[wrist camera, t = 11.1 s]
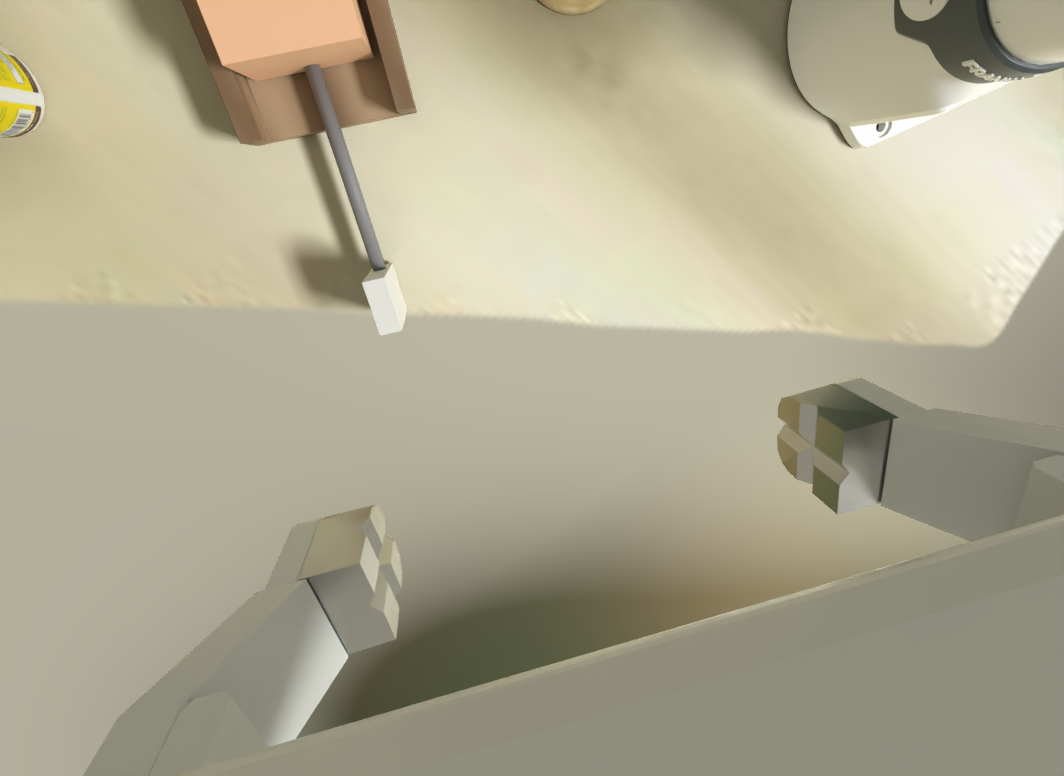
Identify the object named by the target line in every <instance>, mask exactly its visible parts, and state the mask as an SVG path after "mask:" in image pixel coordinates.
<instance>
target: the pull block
mask: <svg viewBox="0 0 1064 776" xmlns="http://www.w3.org/2000/svg"><path fill="white" fill-rule="evenodd" d="M197 3H198V5H199V8H200V10H201V13H202V15H203V18H204V20H205V23H206V25H207V28H208V30H209V33H210V35H211V38H212V40H213V43H214V45H215V48H216V50H217V53H218V55H219V58H220V60H221V63H222V65H223V66H225V67H227V68H229V69H232V70H234V71H236V72H238V73H240V74H242V75H244V76H246V77H248V78H251V79H253V80H255V81H261V80H266V79H271V78H276V77H280V76H285V75H290V74H295V73H300V72H305V71H306V74H307V77H308V80H309V83H310V86H311V89H312V92H313V95H314V98H315V101H316V104H317V106H318V109H319V112H320V115H321V118H322V121H323V124H324V127H325V130H326V133H327V136H328V139H329V142H330V145H331V148H332V151H333V154H334V157H335V160H336V163H337V165H338V168H339V171H340V174H341V177H342V180H343V183H344V186H345V189H346V192H347V195H348V198H349V201H350V204H351V207H352V210H353V213H354V216H355V219H356V222H357V225H358V227H359V230H360V233H361V236H362V239H363V242H364V245H365V248H366V251H367V254H368V257H369V260H370V263H371V266H372V269H371V270H370V272H369V273H368V275H367V276H366V277H365V279H364V280H363V282H362V285H363V288H364V291H365V294H366V296H367V299H368V302H369V305H370V308H371V311H372V313H373V316H374V319H375V322H376V325H377V328H378V330H379V333H380V336H381V335H386V334H390V333H394V332H398V331H402V328H403V324H404V320H405V317H406V313H407V307H406V304H405V301H404V298H403V294H402V291H401V288H400V285H399V282H398V279H397V276H396V273H395V269H394V266H393V263H389V264H385V263H384V260H383V257H382V254H381V251H380V248H379V244H378V241H377V238H376V235H375V232H374V229H373V226H372V223H371V220H370V217H369V214H368V211H367V208H366V205H365V202H364V199H363V195H362V192H361V189H360V186H359V183H358V180H357V177H356V174H355V171H354V168H353V165H352V162H351V159H350V156H349V153H348V149H347V146H346V143H345V140H344V137H343V134H342V131H341V128H340V125H339V122H338V119H337V116H336V113H335V110H334V107H333V104H332V100H331V97H330V94H329V91H328V88H327V85H326V82H325V79H324V76H323V73H322V70H321V68H325V67H330V66H335V65H340V64H345V63H350V62H355V61H360V60H365V59H370V58H375V57H374V53H373V50H372V46H371V43H370V39H369V36H368V32H367V29H366V25H365V22H364V18H363V15H362V11H361V8H360V4H359V0H197Z"/></svg>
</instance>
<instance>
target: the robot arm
mask: <svg viewBox="0 0 1064 776" xmlns="http://www.w3.org/2000/svg"><path fill="white" fill-rule="evenodd" d="M788 54H789V61H790V66H791V69H792V73H793V76H794V79H795V81H796V84H797V86H798V88H799V90H800V91H801V93H802V95H803V96H804V97H805V99H806V100H807V101H808V102H809V103H810V104H811V105H812V106H813V107H814V108H815V109H816V110H817V111H819V112H820V113H822V114H824V115H825V116H827V117H829V118H830V119H832V120H833V121H834V122H835V123H836V124H837V125H838V126H839V128H840V130H841V132H842V134H843V136H844V138H845V139H846V141H847V142H848V144H849V145H850V146H851V147H853V148H855V149H860V148H865V147H869V146H872V145H874V144H876V143H879V142H881V141H883V140H885V139H887V138H890V137H892V136H894V135H896V134H898V133H901V132H903V131H905V130H907V129H909V128H912V127H914V126H916V125H918V124H920V123H923V122H925V121H927V120H929V119H931V118H934V117H936V116H938V115H940V114H942V113H945V112H948V111H949V110H951V109H953V108H956V107H958V106H960V105H962V104H964V103H967V102H969V101H971V100H973V99H975V98H978V97H980V96H982V95H984V94H986V93H989V92H991V91H993V90H995V89H997V88H1000V87H1002V86H1004V85H1006V84H1008V83H1010V82H1012V81H1016V80H1021V79H1024V78H1029V77H1034V76H1037V75H1040V74H1043V73H1047V72H1051V71H1054V70H1057V69H1060V68H1063V67H1064V0H792V3H791V8H790V13H789V21H788ZM877 124H879V126H878V129H877V130H876V126H877ZM778 418H779V419H780V420H781V421H782V422H783V423H784V424H785V425H784V426H783V428H782V430H781V431H780V433H779V434H778V436H777V440H778V441H777V443H778V452H779V455H780V458H781V461H782V463H783V464H784V466H785V468H786V469H787V470H788V471H789V473H790V474H792V475H793V476H794V477H795V478H796V479H798V480H801V481H804V482H807V483H810V484H812V493H813V494H814V495H815V496H816V497H818V498H819V499H820V500H821V501H823V502H824V503H825V504H826V505H827V506H828V507H829V508H830V509H832V510H833V511H834V512H835V513H836V514H841V513H844V512H849V511H852V510H856V509H861V508H864V507H868V506H872V505H876V504H880V503H881V506H883V507H885V508H888V509H891V510H893V511H895V512H898V513H900V514H903V515H906V516H908V517H910V518H913V519H915V520H918V521H921V522H923V523H925V524H928V525H930V526H933V527H935V528H938V529H940V530H943V531H945V532H948V533H950V534H953V535H955V536H958V537H960V538H963V539H965V540H968V541H970V542H968V543H965V544H961V545H958V546H955V547H951V548H948V549H945V550H941V551H938V552H934V553H931V554H927V555H924V556H921V557H917V558H914V559H910V560H907V561H903V562H900V563H897V564H893V565H890V566H886V567H883V568H879V569H876V570H873V571H869V572H866V573H862V574H859V575H855V576H852V577H848V578H845V579H842V580H838V581H834V582H831V583H828V584H824V585H821V586H817V587H814V588H810V589H807V590H803V591H800V592H797V593H793V594H790V595H786V596H783V597H779V598H776V599H772V600H769V601H766V602H762V603H759V604H755V605H752V606H749V607H745V608H742V609H738V610H735V611H732V612H728V613H725V614H721V615H718V616H714V617H711V618H708V619H704V620H701V621H697V622H694V623H691V624H687V625H684V626H680V627H677V628H674V629H670V630H667V631H663V632H660V633H657V634H653V635H650V636H646V637H643V638H640V639H636V640H633V641H629V642H626V643H623V644H619V645H616V646H612V647H609V648H605V649H602V650H599V651H595V652H592V653H588V654H585V655H582V656H579V657H575V658H571V659H568V660H565V661H561V662H558V663H555V664H551V665H547V666H544V667H541V668H538V669H534V670H530V671H527V672H524V673H520V674H517V675H513V676H510V677H507V678H503V679H500V680H496V681H493V682H490V683H486V684H483V685H479V686H476V687H472V688H469V689H466V690H462V691H459V692H455V693H452V694H448V695H445V696H442V697H438V698H435V699H431V700H428V701H425V702H421V703H418V704H414V705H411V706H407V707H404V708H401V709H398V710H394V711H390V712H387V713H384V714H380V715H377V716H373V717H370V718H366V719H363V720H360V721H356V722H353V723H349V724H346V725H343V726H339V727H336V728H332V729H329V730H325V731H322V732H319V733H315V734H312V735H308V736H305V737H302V738H298V739H296V737H297V736H298V734H299V733H300V731H301V729H302V728H303V726H304V725H305V723H306V722H307V720H308V719H309V717H310V716H311V714H312V713H313V711H314V709H315V708H316V706H317V705H318V703H319V702H320V700H321V699H322V697H323V696H324V694H325V692H326V691H327V689H328V687H329V686H330V685H331V683H332V682H333V680H334V679H335V677H336V675H337V674H338V672H339V671H340V669H341V668H342V666H343V665H344V663H345V661H346V660H347V658H348V655H347V654H350V653H354V652H356V651H360V650H363V649H366V648H369V647H373V646H376V645H379V644H382V643H385V642H389V641H392V640H395V639H396V635H397V625H398V615H399V606H398V604H397V601H396V599H395V596H396V595H397V593H398V592H399V591H400V590H401V586H402V567H401V560H400V556H399V552H398V549H397V546H396V544H395V541H394V539H392V538H391V537H389V536H387V535H385V534H384V532H385V526H386V520H385V518H384V516H383V514H382V512H381V509H380V508H379V507H378V506H376V505H372V506H368V507H364V508H360V509H355V510H351V511H347V512H343V513H339V514H335V515H331V516H327V517H324V518H318V519H314V520H311V521H307V522H303V523H300V524H297V525H295V526H294V527H292V529H291V531H290V533H289V536H288V538H287V540H286V543H285V545H284V547H283V550H282V552H281V554H280V556H279V559H278V561H277V563H276V566H275V568H274V570H273V572H272V575H271V577H270V579H269V582H268V584H267V586H266V589H265V590H263V591H260V592H256V593H255V594H254V595H253V596H252V597H251V598H249V599H248V600H247V601H246V602H245V603H244V604H243V605H242V606H241V607H240V608H238V610H236V611H235V612H234V613H233V614H232V615H231V616H230V617H229V618H227V619H226V620H225V621H224V622H223V623H222V624H221V625H220V626H219V627H218V628H217V629H215V630H214V631H213V632H212V633H211V634H210V635H209V636H208V637H207V638H206V639H204V640H203V641H202V642H201V643H200V644H199V645H198V646H197V647H195V648H194V649H193V650H192V651H191V652H190V653H189V654H188V655H187V656H186V657H185V658H183V659H182V660H181V661H180V662H179V663H178V664H177V665H176V666H175V667H173V668H172V669H171V670H170V671H169V672H168V673H167V674H166V675H165V676H164V677H163V678H161V679H160V680H159V681H158V682H157V683H156V684H155V685H154V686H152V687H151V688H150V689H149V690H148V691H147V692H146V693H145V694H144V695H143V696H141V697H140V698H139V699H138V700H137V701H136V702H135V703H134V704H133V705H132V706H130V707H129V708H128V709H127V710H126V711H125V712H124V713H123V714H122V715H121V716H119V717H118V718H117V720H116V722H115V723H114V725H113V727H112V728H111V730H110V732H109V733H108V735H107V737H106V738H105V740H104V742H103V743H102V745H101V747H100V748H99V750H98V752H97V753H96V755H95V757H94V758H93V760H92V762H91V763H90V765H89V767H88V768H87V770H86V772H85V773H84V775H83V776H1064V428H1059V427H1052V426H1047V425H1040V424H1033V423H1027V422H1021V421H1014V420H1008V419H1001V418H995V417H988V416H982V415H976V414H969V413H962V412H956V411H950V410H943V409H936V408H934V409H930V410H926V409H924V408H922V407H919V406H918V405H916V404H913V403H911V402H909V401H907V400H905V399H903V398H901V397H899V396H897V395H895V394H893V393H891V392H889V391H887V390H885V389H883V388H881V387H879V386H877V385H875V384H873V383H871V382H869V381H867V380H865V379H863V378H855V377H852V378H848V379H845V380H842V381H838V382H835V383H832V384H829V385H826V386H823V387H819V388H816V389H812V390H809V391H805V392H802V393H798V394H795V395H791V396H788V397H784V398H782V399H781V401H780V403H779V406H778Z"/></svg>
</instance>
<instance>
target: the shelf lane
mask: <svg viewBox="0 0 1064 776" xmlns="http://www.w3.org/2000/svg"><path fill="white" fill-rule="evenodd" d="M182 2H183V5H184V7H185V10H186V12H187V14H188V17H189V19H190V22H191V24H192V27H193V29H194V31H195V34H196V36H197V39H198V41H199V44H200V46H201V49H202V51H203V53H204V56H205V58H206V61H207V63H208V66H209V68H210V70H211V73H212V75H213V78H214V80H215V83H216V85H217V87H218V90H219V92H220V95H221V97H222V100H223V102H224V105H225V107H226V109H227V112H228V114H229V117H230V119H231V122H232V124H233V126H234V129H235V131H236V134H237V136H238V139H239V141H240V143H241V144H249V145H257V146H260V145H265V144H269V143H274V142H279V141H284V140H288V139H293V138H298V137H303V136H307V135H312V134H317V133H322V132H326V130H325V127H324V124H323V121H322V118H321V115H320V112H319V109H318V106H317V104H316V101H315V98H314V95H313V92H312V89H311V86H310V83H309V80H308V77H307V74H306V71H305V72H300V73H295V74H290V75H285V76H280V77H276V78H271V79H266V80H261V81H255V80H253V79H251V78H248V77H246V76H244V75H242V74H240V73H238V72H236V71H234V70H232V69H229V68H227V67H225V66H223V65H222V63H221V60H220V58H219V55H218V53H217V50H216V48H215V45H214V43H213V40H212V38H211V35H210V33H209V30H208V28H207V25H206V23H205V20H204V18H203V15H202V13H201V10H200V8H199V5H198V3H197V0H182ZM359 4H360V8H361V11H362V15H363V18H364V22H365V25H366V29H367V32H368V36H369V39H370V43H371V46H372V50H373V53H374V57H375V58H370V59H365V60H360V61H355V62H350V63H345V64H340V65H335V66H330V67H325V68H321V70H322V73H323V76H324V79H325V82H326V85H327V88H328V91H329V94H330V97H331V100H332V104H333V107H334V110H335V113H336V116H337V119H338V122H339V125H340V128H345V127H350V126H355V125H360V124H364V123H369V122H374V121H379V120H383V119H388V118H393V117H398V116H402V115H407V114H412V113H416V112H417V111H416V107H415V103H414V100H413V96H412V92H411V88H410V84H409V80H408V77H407V73H406V69H405V65H404V61H403V58H402V54H401V50H400V46H399V42H398V39H397V35H396V31H395V27H394V23H393V19H392V16H391V12H390V8H389V4H388V0H359Z"/></svg>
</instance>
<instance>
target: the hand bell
mask: <svg viewBox="0 0 1064 776" xmlns="http://www.w3.org/2000/svg"><path fill="white" fill-rule="evenodd" d="M539 1H540V2H541V3H542V4H543V5H545V6H546V7H548V8H549V9H552V10H554V11H555V12H559V13H562V14H568V15H577V14H583V13H587V12H590V11H592V10H594V9H596V8H597V7H599V6H601V5H602V4H603V3H604V2H606V1H607V0H539Z"/></svg>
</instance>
